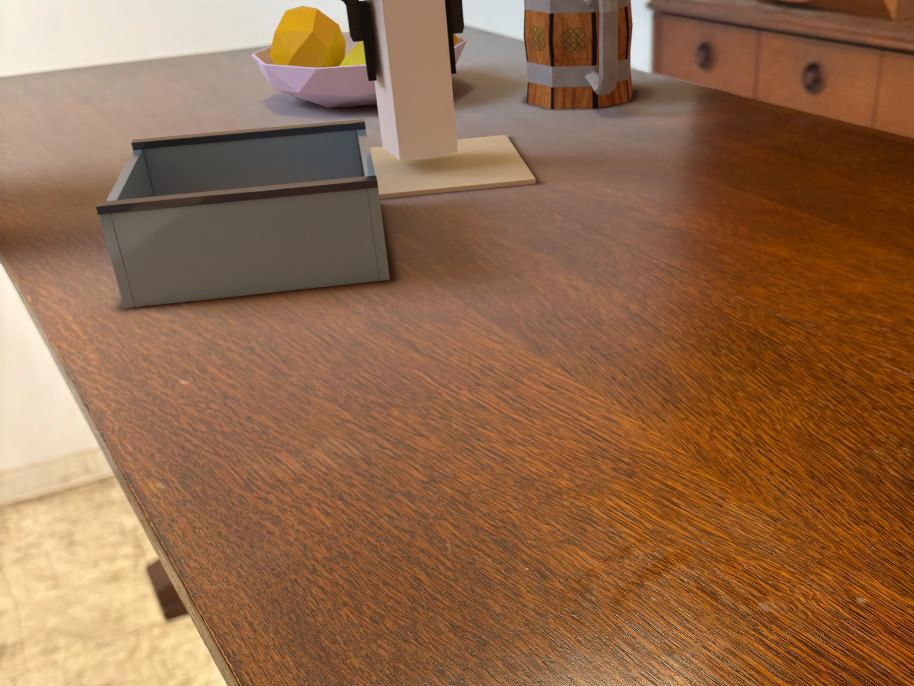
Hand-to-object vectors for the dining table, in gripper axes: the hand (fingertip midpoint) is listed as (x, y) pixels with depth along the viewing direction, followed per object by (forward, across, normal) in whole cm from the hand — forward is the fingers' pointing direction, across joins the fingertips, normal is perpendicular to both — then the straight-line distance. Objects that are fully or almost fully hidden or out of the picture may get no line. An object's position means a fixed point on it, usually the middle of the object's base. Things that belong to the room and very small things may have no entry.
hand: (411, 74), depth 103 cm
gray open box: (+9, -15, -21) cm, 27 cm away
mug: (+9, +22, +23) cm, 33 cm away
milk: (+7, 0, 0) cm, 7 cm away
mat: (+9, 0, 0) cm, 9 cm away
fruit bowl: (+9, -3, +39) cm, 40 cm away
